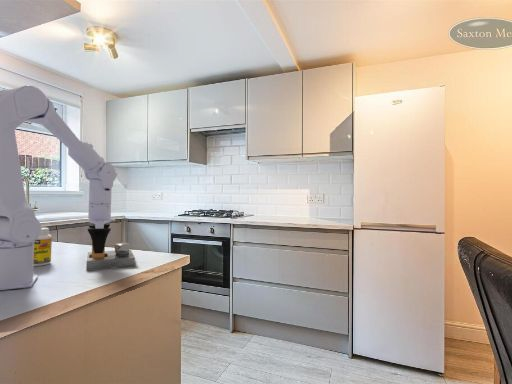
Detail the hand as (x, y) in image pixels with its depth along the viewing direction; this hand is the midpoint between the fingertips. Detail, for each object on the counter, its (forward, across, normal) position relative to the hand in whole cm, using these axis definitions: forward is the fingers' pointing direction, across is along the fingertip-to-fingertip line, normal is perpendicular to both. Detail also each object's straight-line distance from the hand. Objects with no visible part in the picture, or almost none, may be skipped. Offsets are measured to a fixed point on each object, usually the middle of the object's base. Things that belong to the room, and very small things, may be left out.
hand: (98, 250), depth 84 cm
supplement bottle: (+4, +6, +15) cm, 17 cm away
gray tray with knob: (+4, 0, -3) cm, 5 cm away
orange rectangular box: (+4, 0, 0) cm, 4 cm away
